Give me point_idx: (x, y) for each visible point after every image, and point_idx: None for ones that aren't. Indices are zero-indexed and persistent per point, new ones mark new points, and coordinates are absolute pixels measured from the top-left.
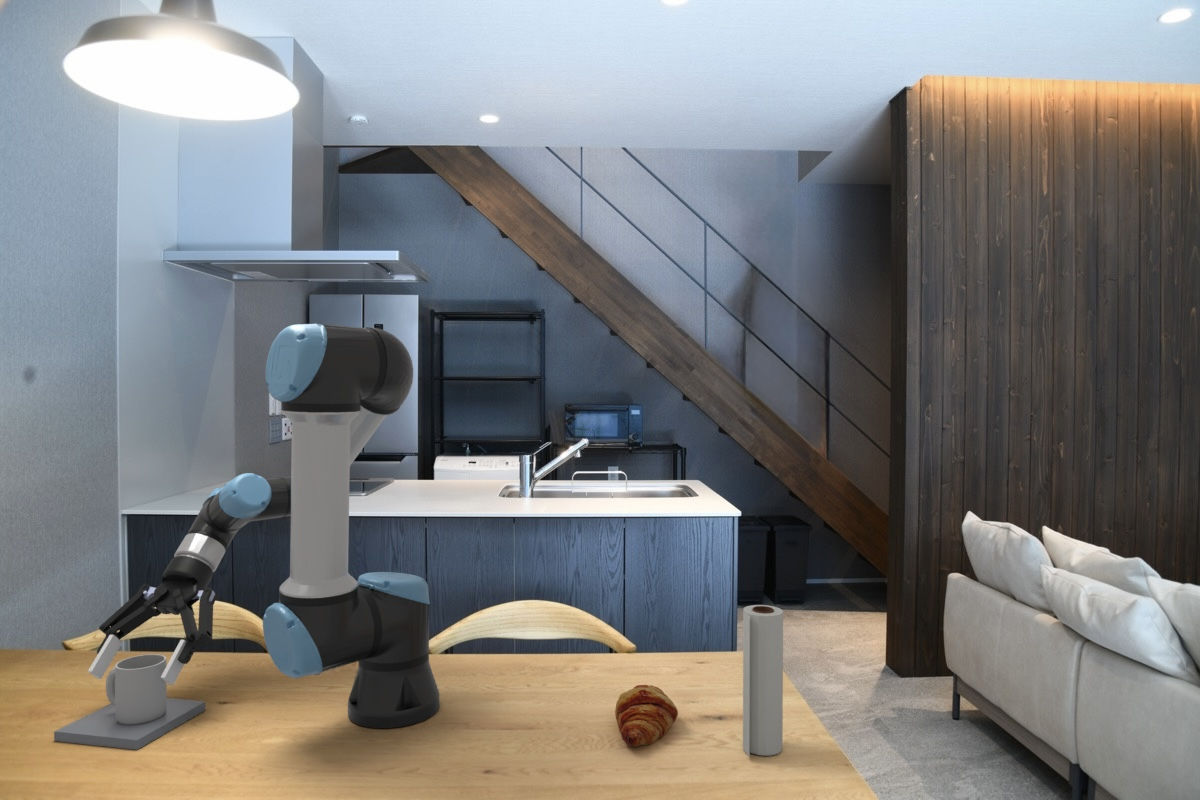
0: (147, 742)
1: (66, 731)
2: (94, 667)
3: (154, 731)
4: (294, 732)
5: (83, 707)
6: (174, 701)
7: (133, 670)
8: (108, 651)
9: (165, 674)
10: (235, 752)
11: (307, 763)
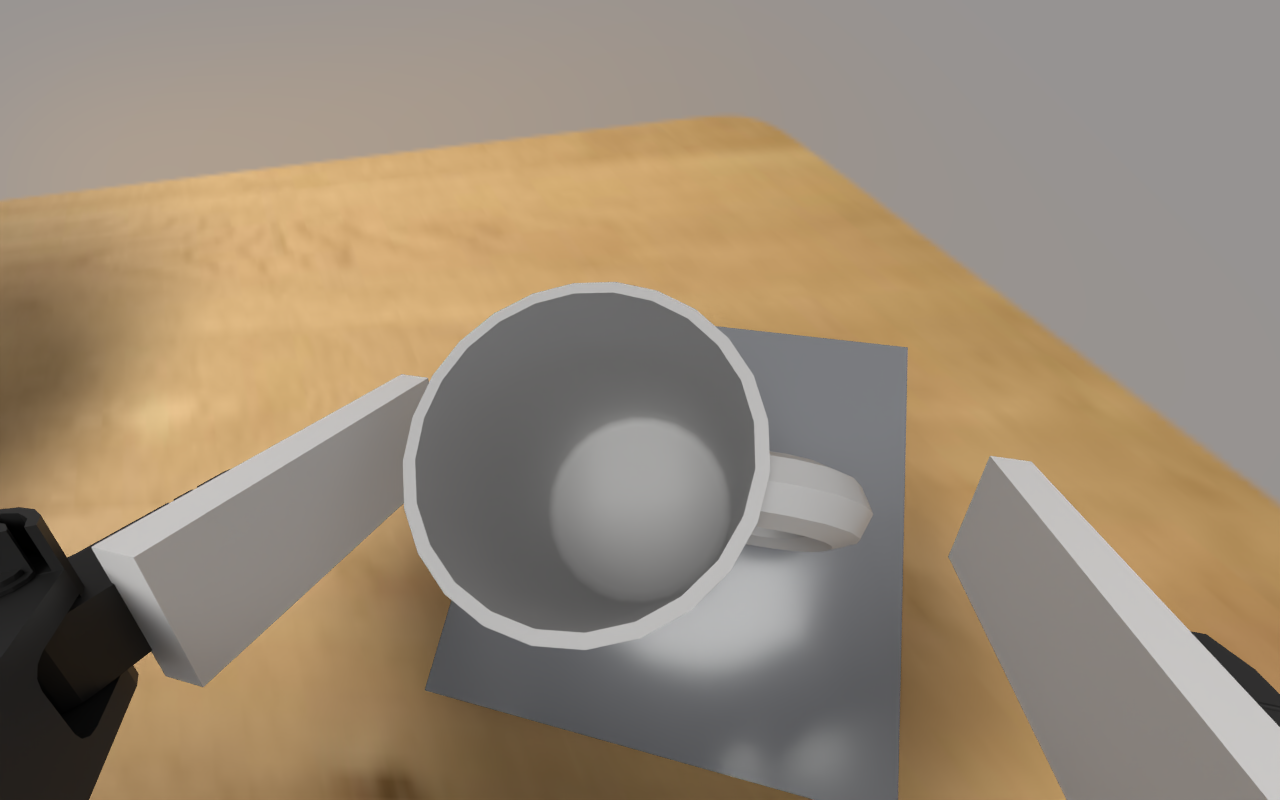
0: None
1: (855, 351)
2: (1006, 482)
3: None
4: (104, 469)
5: None
6: (575, 691)
7: (550, 293)
8: (1081, 654)
9: (391, 380)
10: (260, 332)
11: (83, 292)
